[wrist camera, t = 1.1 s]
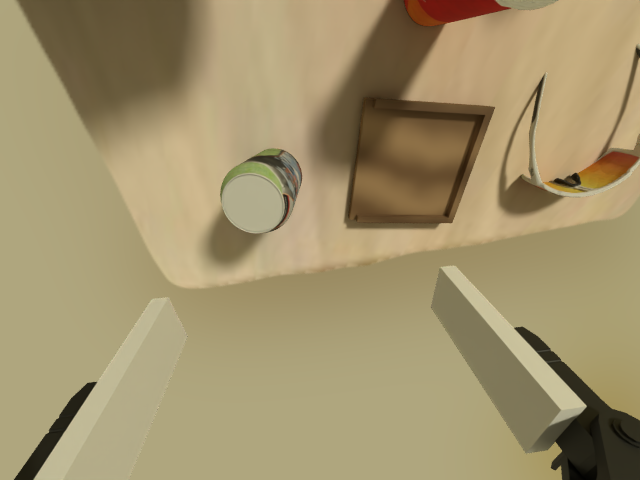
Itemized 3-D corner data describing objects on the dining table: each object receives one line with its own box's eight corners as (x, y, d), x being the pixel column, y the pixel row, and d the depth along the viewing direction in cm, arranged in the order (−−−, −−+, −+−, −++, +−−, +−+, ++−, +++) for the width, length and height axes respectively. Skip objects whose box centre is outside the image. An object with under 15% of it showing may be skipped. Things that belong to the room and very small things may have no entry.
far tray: (364, 97, 27) (368, 98, 26) (484, 105, 29) (495, 107, 28) (348, 216, 35) (351, 222, 33) (445, 217, 36) (452, 223, 35)
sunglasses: (507, 201, 36) (537, 211, 32) (510, 81, 30) (547, 73, 26) (609, 171, 36) (655, 178, 31) (633, 43, 29) (694, 27, 25)
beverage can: (287, 204, 33) (287, 259, 23) (231, 178, 30) (202, 227, 20) (311, 160, 30) (323, 200, 20) (251, 127, 28) (230, 154, 18)
